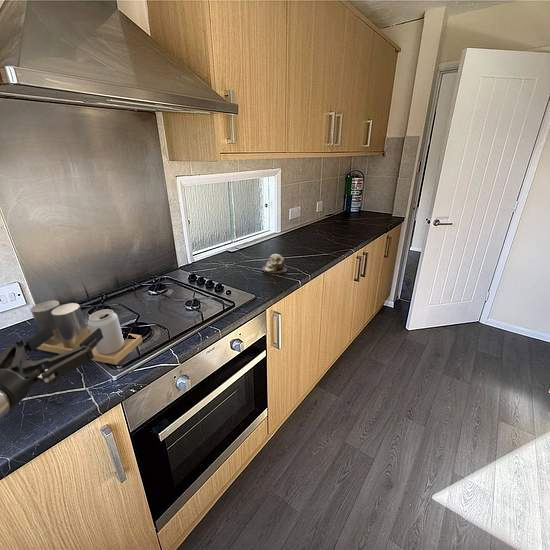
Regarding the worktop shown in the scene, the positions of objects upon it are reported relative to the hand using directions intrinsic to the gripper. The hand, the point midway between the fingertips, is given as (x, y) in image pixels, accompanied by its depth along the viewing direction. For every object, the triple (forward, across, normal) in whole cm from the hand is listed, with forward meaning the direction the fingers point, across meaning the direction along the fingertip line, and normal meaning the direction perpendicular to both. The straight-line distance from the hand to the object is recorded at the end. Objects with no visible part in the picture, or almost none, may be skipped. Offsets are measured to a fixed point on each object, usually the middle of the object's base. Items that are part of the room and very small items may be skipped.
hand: (75, 331), depth 74 cm
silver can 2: (+12, -13, -13) cm, 22 cm away
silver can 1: (+13, -21, -13) cm, 28 cm away
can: (+10, 0, -13) cm, 16 cm away
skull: (+74, +42, -13) cm, 86 cm away
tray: (+11, -9, -13) cm, 20 cm away
